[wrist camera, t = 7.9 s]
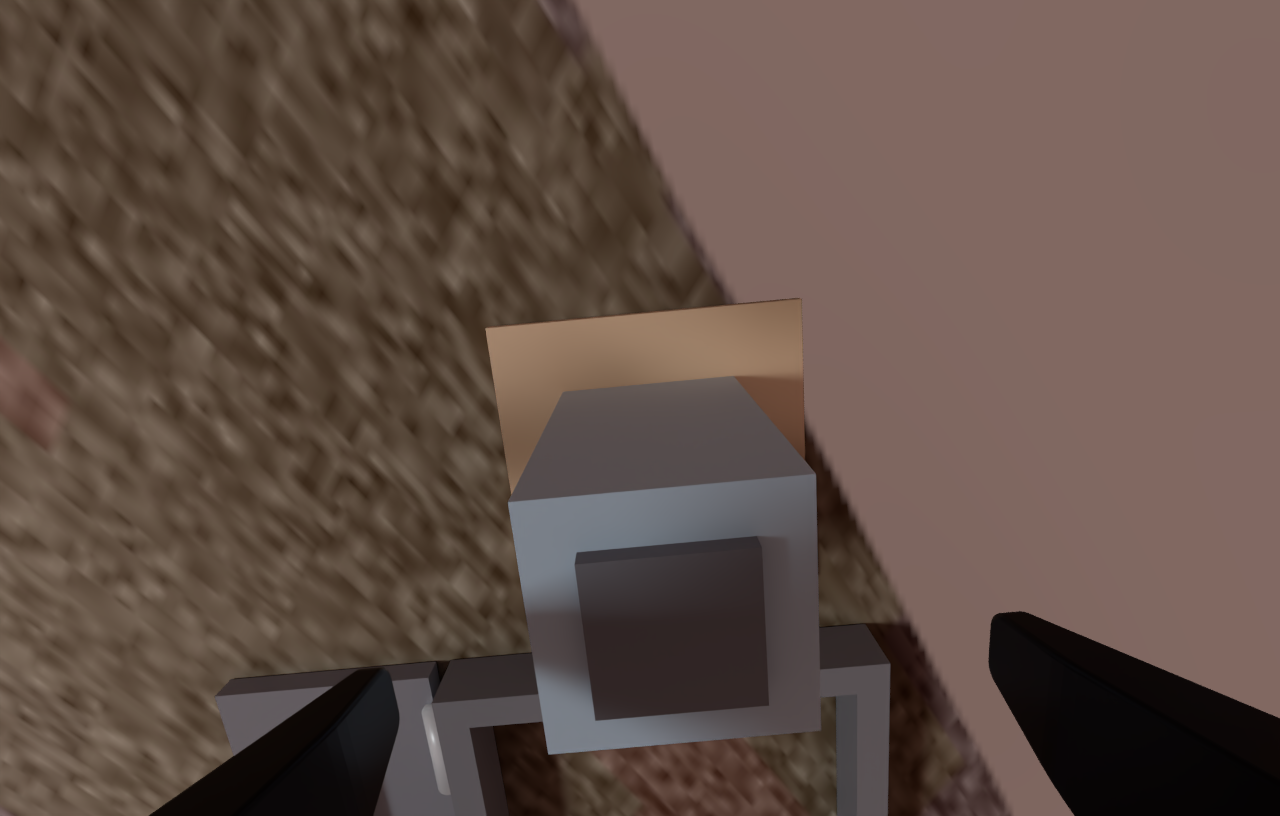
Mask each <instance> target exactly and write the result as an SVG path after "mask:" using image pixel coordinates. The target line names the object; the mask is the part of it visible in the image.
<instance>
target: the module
mask: <svg viewBox="0 0 1280 816" xmlns="http://www.w3.org/2000/svg"><path fill="white" fill-rule="evenodd" d="M508 506H509V512H510V518H511V525H512V531H513V537H514V543H515V550H516V556H517V562H518V568H519V575H520V581H521V587H522V593H523V600H524V606H525V612H526V618H527V625H528V631H529V637H530V643H531V649H532V656H533V662H534V668H535V674H536V681H537V687H538V693H539V699H540V706H541V712H542V718H543V724H544V731H545V737H546V743H547V749H548V755H549V754H561V753H572V752H583V751H595V750H606V749H618V748H629V747H640V746H652V745H663V744H674V743H686V742H697V741H709V740H720V739H731V738H743V737H754V736H766V735H777V734H788V733H800V732H811V731H821V703H820V651H819V600H818V548H817V497H816V473H815V472H814V471H813V470H812V468H811V467H810V466H809V465H808V464H807V463H806V461H805V460H804V459H803V458H802V457H801V455H800V454H799V453H798V452H797V451H796V449H795V448H794V447H793V446H792V445H791V444H790V442H789V441H788V440H787V439H786V438H785V436H784V435H783V434H782V433H781V432H780V430H779V429H778V428H777V427H776V426H775V425H774V423H773V422H772V421H771V420H770V419H769V417H768V416H767V415H766V414H765V413H764V411H763V410H762V409H761V408H760V407H759V406H758V404H757V403H756V402H755V401H754V400H753V398H752V397H751V396H750V395H749V394H748V392H747V391H746V390H745V389H744V388H743V387H742V385H741V384H740V383H739V382H738V381H737V379H736V378H735V377H734V376H726V377H716V378H705V379H694V380H684V381H673V382H662V383H652V384H641V385H630V386H620V387H609V388H598V389H588V390H577V391H566V392H563V393H562V395H561V397H560V399H559V401H558V403H557V405H556V407H555V409H554V411H553V413H552V415H551V417H550V419H549V421H548V423H547V425H546V427H545V429H544V431H543V433H542V435H541V437H540V439H539V441H538V443H537V445H536V447H535V449H534V451H533V453H532V455H531V457H530V459H529V461H528V463H527V465H526V467H525V469H524V471H523V473H522V475H521V477H520V479H519V481H518V483H517V485H516V487H515V489H514V491H513V493H512V495H511V497H510V499H509V501H508Z"/></svg>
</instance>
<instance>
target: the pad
mask: <svg viewBox="0 0 1280 816" xmlns="http://www.w3.org/2000/svg"><path fill="white" fill-rule="evenodd" d="M486 335H487V341H488V348H489V354H490V361H491V367H492V373H493V380H494V386H495V393H496V399H497V405H498V412H499V418H500V425H501V431H502V437H503V444H504V450H505V457H506V463H507V469H508V476H509V482H510V489H511V495H512V493H513V491H514V489H515V487H516V485H517V483H518V481H519V479H520V477H521V475H522V473H523V471H524V469H525V467H526V465H527V463H528V461H529V459H530V457H531V455H532V453H533V451H534V449H535V447H536V445H537V443H538V441H539V439H540V437H541V435H542V433H543V431H544V429H545V427H546V425H547V423H548V421H549V419H550V417H551V415H552V413H553V411H554V409H555V407H556V405H557V403H558V401H559V399H560V397H561V395H562V393H563V392H566V391H577V390H588V389H598V388H609V387H620V386H630V385H641V384H652V383H662V382H673V381H684V380H694V379H705V378H716V377H726V376H734V377H735V378H736V379H737V381H738V382H739V383H740V384H741V385H742V387H743V388H744V389H745V390H746V391H747V392H748V394H749V395H750V396H751V397H752V398H753V400H754V401H755V402H756V403H757V404H758V406H759V407H760V408H761V409H762V410H763V411H764V413H765V414H766V415H767V416H768V417H769V419H770V420H771V421H772V422H773V423H774V425H775V426H776V427H777V428H778V429H779V430H780V432H781V433H782V434H783V435H784V436H785V438H786V439H787V440H788V441H789V442H790V444H791V445H792V446H793V447H794V448H795V449H796V451H797V452H798V453H799V454H800V455H801V457H802V458H803V459H804V460H805V428H804V388H803V387H804V385H803V340H802V339H803V338H802V299H800V298H792V299H782V300H771V301H760V302H750V303H738V304H728V305H717V306H706V307H695V308H685V309H674V310H663V311H652V312H642V313H631V314H620V315H609V316H599V317H588V318H577V319H566V320H556V321H545V322H534V323H523V324H513V325H502V326H491V327H487V328H486Z"/></svg>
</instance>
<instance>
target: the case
mask: <svg viewBox="0 0 1280 816" xmlns="http://www.w3.org/2000/svg"><path fill="white" fill-rule="evenodd" d="M819 651H820V697H832V696H836V744H837V816H888V770H889V713H890V662H889V661H888V659H887V657H886V656H885V654H884V653H883V651H882V650H881V648H880V646H879V645H878V643H877V642H876V640H875V639H874V637H873V635H872V634H871V632H870V631H869V629H868V627H867V626H866V624H857V625H846V626H835V627H823V628H819ZM379 667H384V668H386V669H388V671H389V672H390V675H391V679H392V683H393V687H394V691H395V696H396V700H397V704H398V709H399V715H400V721H399V729H398V733H397V736H396V740H395V743H394V747H393V750H392V754H391V757H390V760H389V764H388V767H387V771H386V774H385V778H384V781H383V785H382V788H381V792H380V795H379V799H378V802H377V805H376V809H375V812H374V816H509V812H508V806H507V801H506V795H505V790H504V785H503V779H502V774H501V768H500V763H499V757H498V752H497V746H496V741H495V736H494V730H493V726H498V725H509V724H521V723H532V722H543V718H542V712H541V706H540V699H539V693H538V687H537V681H536V674H535V668H534V662H533V656H532V653H527V654H516V655H504V656H493V657H482V658H470V659H459V660H451V661H450V663H449V665H448V667H447V670H446V672H445V674H444V676H443V679H442V681H441V683H440V678H439V674H438V669H437V664H436V662H425V663H413V664H402V665H391V666H379ZM368 668H374V667H368ZM358 669H363V668H356V669H345V670H334V671H322V672H311V673H299V674H288V675H277V676H265V677H254V678H243V679H231V680H230V681H229V682H228V683H227V684H226V685H225V686H224V687H223V688H222V689H221V691H220V692H219V693H218V694H217V695H216V696H215V699H216V702H217V705H218V708H219V711H220V714H221V717H222V720H223V724H224V727H225V730H226V733H227V736H228V739H229V742H230V745H231V749H232V752H233V755H234V756H235V755H236V754H237V753H239V752H240V751H242V750H243V749H245V748H246V747H247V746H249V745H250V744H252V743H253V742H255V741H256V740H257V739H259V738H260V737H262V736H263V735H265V734H266V733H267V732H269V731H270V730H272V729H273V728H275V727H276V726H277V725H279V724H280V723H282V722H283V721H285V720H286V719H287V718H289V717H290V716H292V715H293V714H295V713H296V712H297V711H299V710H300V709H302V708H303V707H305V706H306V705H307V704H309V703H310V702H312V701H313V700H315V699H316V698H317V697H319V696H320V695H322V694H323V693H325V692H326V691H327V690H329V689H330V688H332V687H333V686H335V685H336V684H337V683H339V682H340V681H342V680H343V679H345V678H346V677H347V676H349V675H350V674H352V673H353V672H355V671H356V670H358Z"/></svg>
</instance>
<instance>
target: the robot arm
mask: <svg viewBox="0 0 1280 816" xmlns="http://www.w3.org/2000/svg"><path fill="white" fill-rule="evenodd" d="M989 668H990V672H991V675H992V678H993V680H994V682H995V683H996V685H997V687H998V689H999V690H1000V692H1001V694H1002V695H1003V697H1004V699H1005V701H1006V703H1007V705H1008V706H1009V708H1010V710H1011V712H1012V714H1013V715H1014V717H1015V719H1016V721H1017V722H1018V724H1019V726H1020V727H1021V729H1022V731H1023V733H1024V735H1025V736H1026V738H1027V740H1028V742H1029V744H1030V745H1031V747H1032V749H1033V751H1034V752H1035V754H1036V756H1037V758H1038V760H1039V761H1040V763H1041V765H1042V766H1043V768H1044V770H1045V771H1046V773H1047V775H1048V776H1049V778H1050V780H1051V781H1052V783H1053V785H1054V786H1055V788H1056V789H1057V791H1058V792H1059V793H1060V795H1061V797H1062V798H1063V800H1064V801H1065V803H1066V804H1067V805H1068V807H1069V808H1070V809H1071V811H1072V813H1073V814H1074V816H1280V718H1278V717H1275V716H1273V715H1271V714H1268V713H1266V712H1263V711H1261V710H1258V709H1256V708H1254V707H1251V706H1249V705H1247V704H1244V703H1242V702H1239V701H1237V700H1235V699H1232V698H1230V697H1228V696H1225V695H1223V694H1220V693H1218V692H1215V691H1213V690H1211V689H1208V688H1206V687H1203V686H1201V685H1199V684H1196V683H1194V682H1192V681H1189V680H1187V679H1184V678H1182V677H1179V676H1177V675H1175V674H1173V673H1170V672H1168V671H1165V670H1163V669H1160V668H1158V667H1155V666H1153V665H1151V664H1149V663H1146V662H1144V661H1141V660H1139V659H1137V658H1134V657H1132V656H1129V655H1127V654H1125V653H1122V652H1120V651H1118V650H1115V649H1113V648H1110V647H1108V646H1106V645H1103V644H1101V643H1098V642H1096V641H1094V640H1091V639H1089V638H1086V637H1084V636H1082V635H1079V634H1077V633H1075V632H1072V631H1069V630H1067V629H1065V628H1062V627H1060V626H1058V625H1055V624H1053V623H1051V622H1048V621H1046V620H1043V619H1041V618H1039V617H1036V616H1034V615H1031V614H1029V613H1026V612H1021V611H1019V612H1008V613H999V614H996V615H995V616H994V617H993V619H992V622H991V630H990V645H989ZM399 721H400V715H399V709H398V704H397V700H396V696H395V691H394V687H393V683H392V679H391V675H390V672H389V671H388V669H386V668H384V667H374V668H363V669H358V670H356V671H355V672H353V673H352V674H350V675H349V676H347V677H346V678H345V679H343V680H342V681H340V682H339V683H337V684H336V685H335V686H333V687H332V688H330V689H329V690H327V691H326V692H325V693H323V694H322V695H320V696H319V697H317V698H316V699H315V700H313V701H312V702H310V703H309V704H307V705H306V706H305V707H303V708H302V709H300V710H299V711H297V712H296V713H295V714H293V715H292V716H290V717H289V718H287V719H286V720H285V721H283V722H282V723H280V724H279V725H277V726H276V727H275V728H273V729H272V730H270V731H269V732H267V733H266V734H265V735H263V736H262V737H260V738H259V739H257V740H256V741H255V742H253V743H252V744H250V745H249V746H247V747H246V748H245V749H243V750H242V751H240V752H239V753H237V754H236V755H235V756H233V757H232V758H230V759H229V760H227V761H226V762H225V763H223V764H222V765H220V766H219V767H217V768H216V769H215V770H213V771H212V772H210V773H209V774H207V775H206V776H205V777H203V778H202V779H200V780H199V781H197V782H196V783H195V784H193V785H192V786H190V787H189V788H187V789H186V790H185V791H183V792H182V793H180V794H179V795H177V796H176V797H175V798H173V799H172V800H170V801H169V802H167V803H166V804H165V805H163V806H162V807H160V808H159V809H157V810H156V811H155V812H153V813H152V814H150V815H149V816H374V812H375V809H376V805H377V802H378V799H379V795H380V792H381V788H382V785H383V781H384V778H385V774H386V771H387V767H388V764H389V760H390V757H391V754H392V750H393V747H394V743H395V740H396V736H397V733H398V729H399Z"/></svg>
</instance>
